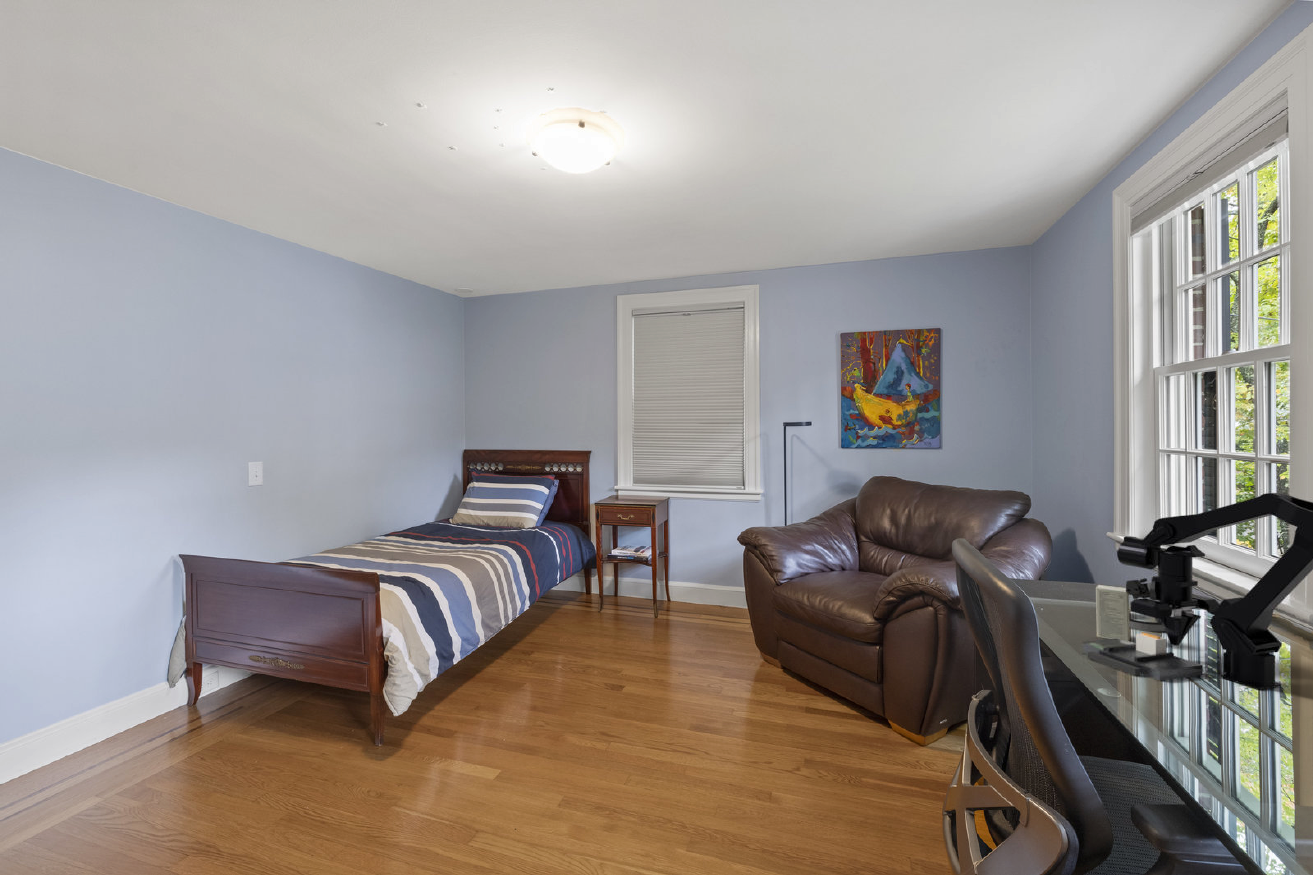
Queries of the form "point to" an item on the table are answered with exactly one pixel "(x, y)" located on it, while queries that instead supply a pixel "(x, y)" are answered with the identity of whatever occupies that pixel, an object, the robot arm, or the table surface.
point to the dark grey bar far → (1100, 640)
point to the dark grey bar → (1114, 663)
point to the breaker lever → (1150, 644)
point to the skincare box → (1112, 612)
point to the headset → (1147, 623)
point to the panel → (1146, 660)
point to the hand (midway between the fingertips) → (1174, 645)
